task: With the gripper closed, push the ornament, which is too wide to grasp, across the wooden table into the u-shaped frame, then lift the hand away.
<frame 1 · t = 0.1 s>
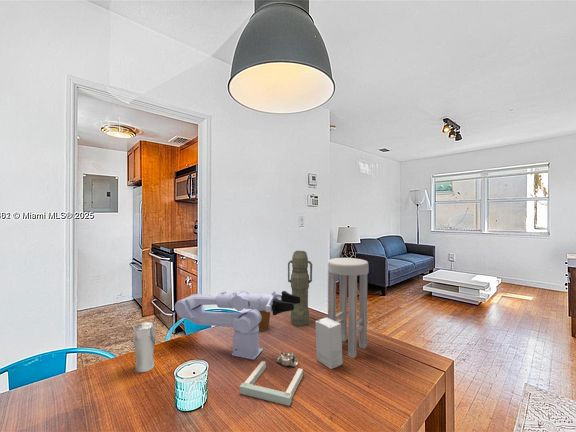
hand: (296, 303, 101), 22 cm above the table, tool horizontal, fingers open, 7 cm apart
disposable coffee cup: (261, 328, 130), on the table
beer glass: (144, 368, 98), on the table
stool: (347, 348, 112), on the table
skincare box: (328, 362, 102), on the table
u-shaped frame: (274, 383, 89), on the table
thermos: (300, 323, 136), on the table
ornament: (287, 363, 101), on the table
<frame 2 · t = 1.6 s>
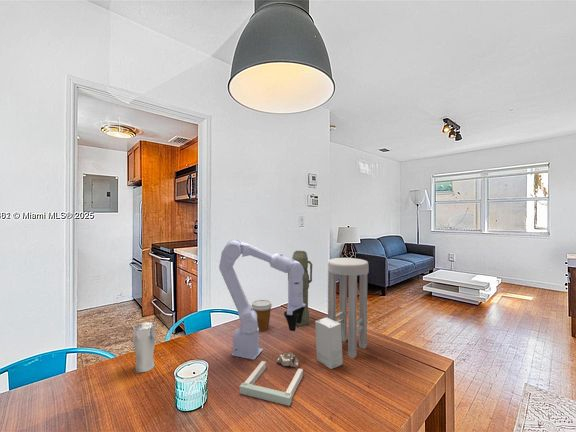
hand: (295, 326, 110), 9 cm above the table, tool pointing down, fingers open, 7 cm apart
nothing on the table moved.
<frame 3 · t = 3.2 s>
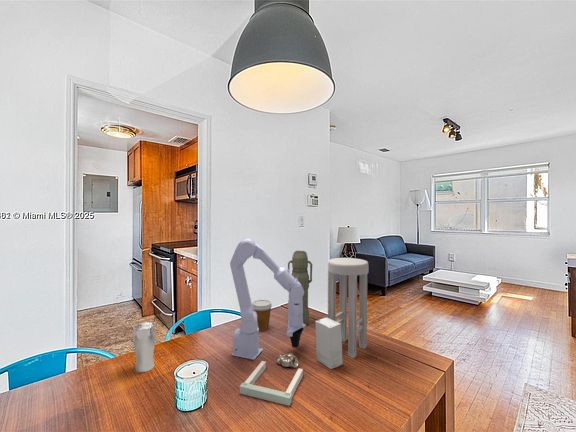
hand: (295, 346, 110), 1 cm above the table, tool pointing down, fingers closed
nothing on the table moved.
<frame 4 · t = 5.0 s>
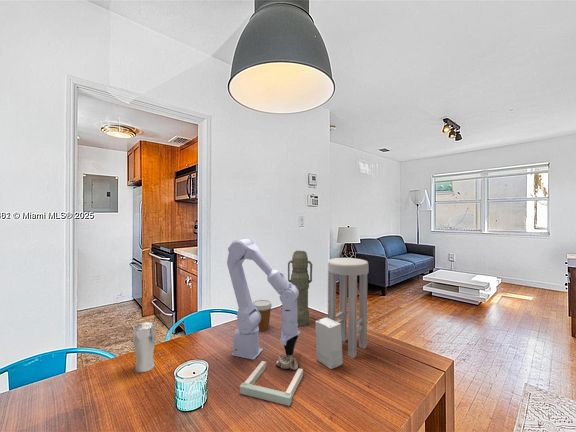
hand: (289, 355, 103), 1 cm above the table, tool pointing down, fingers closed
ornament: (287, 366, 99), on the table, touching gripper
everything else where it was.
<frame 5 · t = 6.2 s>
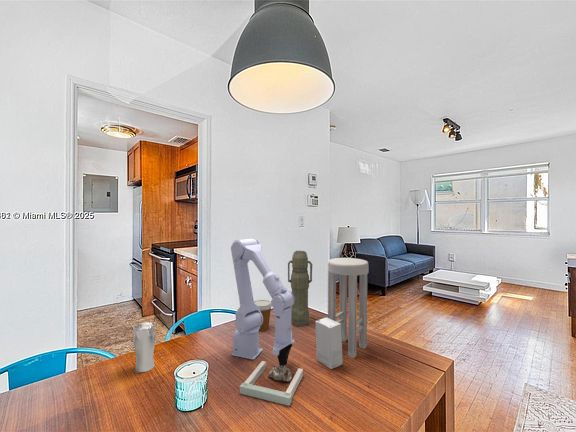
hand: (283, 365, 97), 1 cm above the table, tool pointing down, fingers closed
ornament: (280, 377, 93), on the table, touching gripper
everything else where it was.
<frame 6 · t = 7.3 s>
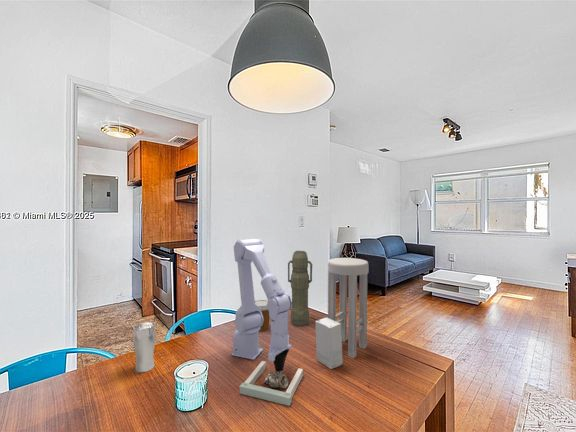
hand: (279, 371, 94), 1 cm above the table, tool pointing down, fingers closed
ornament: (276, 384, 89), on the table, touching gripper
everything else where it was.
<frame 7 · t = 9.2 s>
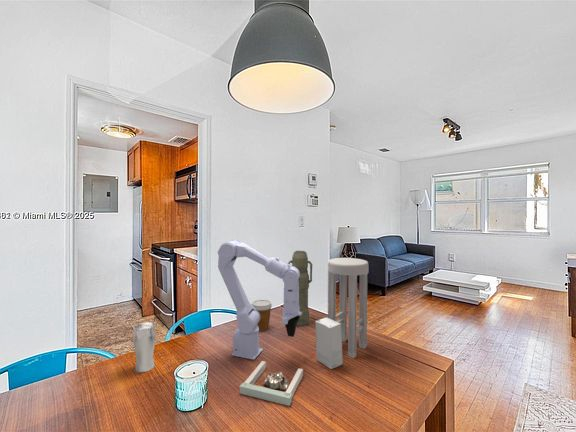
hand: (291, 335, 105), 8 cm above the table, tool pointing down, fingers closed
ornament: (276, 385, 89), on the table
everything else where it was.
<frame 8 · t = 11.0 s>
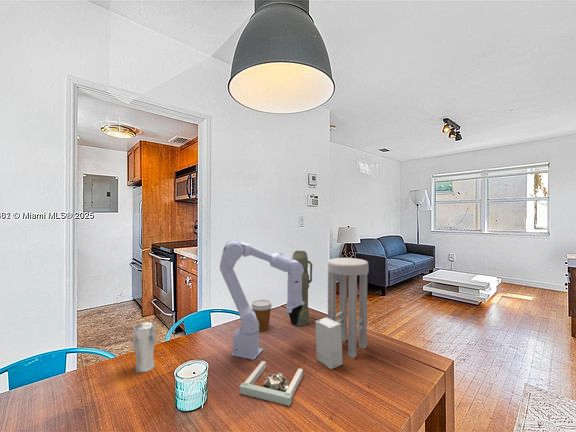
hand: (294, 324, 112), 9 cm above the table, tool pointing down, fingers closed
nothing on the table moved.
at the end: ornament inside the target area on the u-shaped frame (1.6 cm from its centre), point 0.0 cm above the u-shaped frame's base; ornament tilted 0° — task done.
